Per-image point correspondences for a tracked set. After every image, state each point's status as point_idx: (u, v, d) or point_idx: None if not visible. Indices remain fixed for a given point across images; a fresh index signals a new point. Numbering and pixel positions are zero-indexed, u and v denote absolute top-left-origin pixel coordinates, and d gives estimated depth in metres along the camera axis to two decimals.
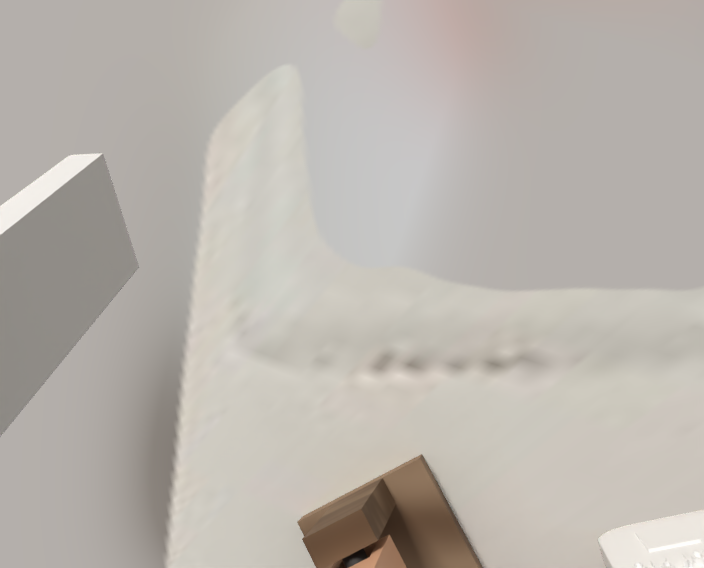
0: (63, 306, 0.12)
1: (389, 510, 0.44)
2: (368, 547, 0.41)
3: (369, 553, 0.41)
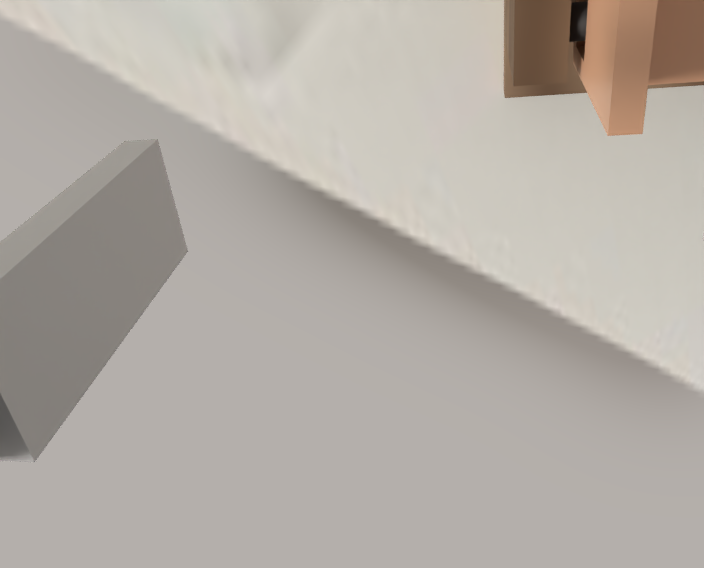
0: (126, 285, 0.13)
1: None
2: None
3: None
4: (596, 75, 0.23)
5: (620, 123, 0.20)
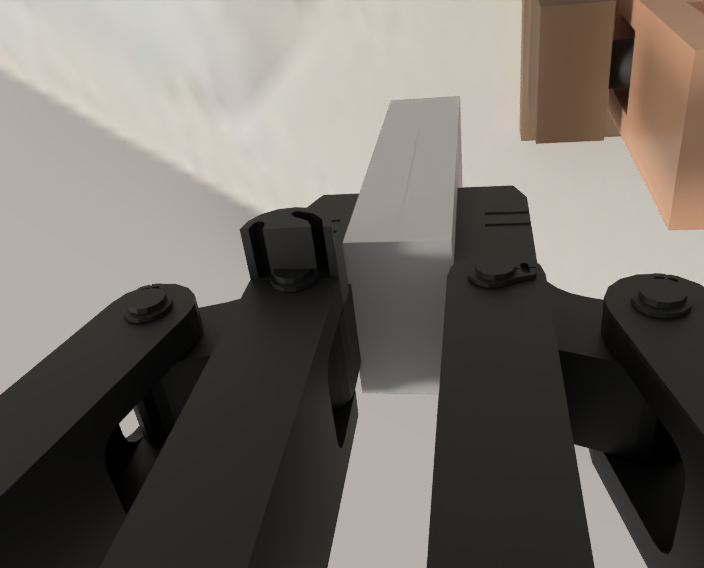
0: None
1: None
2: (618, 32, 0.21)
3: (629, 35, 0.21)
4: (648, 141, 0.17)
5: (686, 215, 0.15)
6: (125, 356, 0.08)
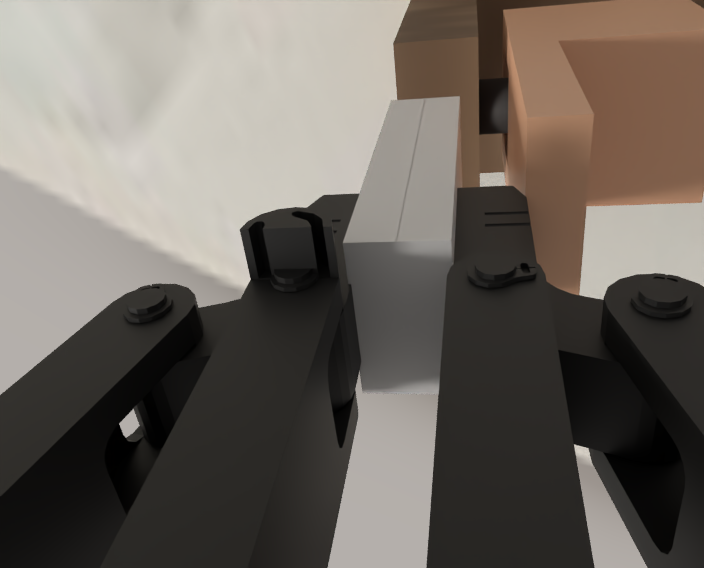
0: None
1: None
2: (504, 67, 0.18)
3: None
4: None
5: None
6: (125, 356, 0.08)
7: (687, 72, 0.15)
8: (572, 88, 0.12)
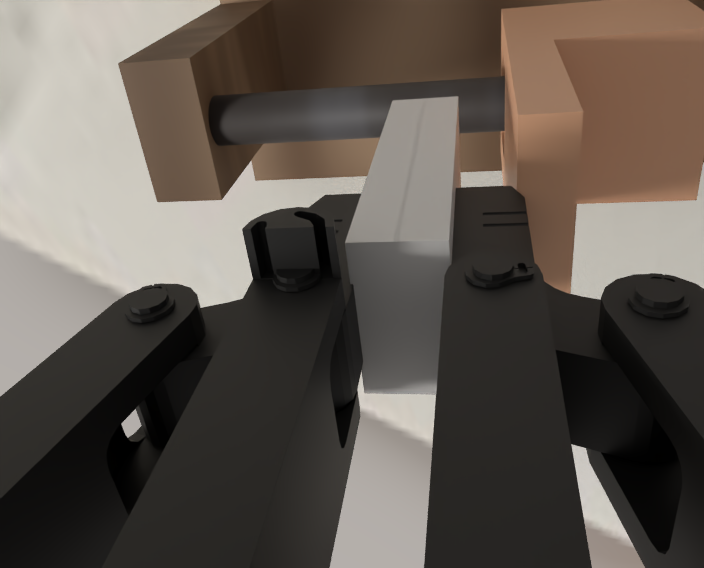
0: None
1: (245, 14, 0.22)
2: (502, 66, 0.19)
3: None
4: None
5: None
6: (127, 356, 0.08)
7: (681, 71, 0.15)
8: (564, 86, 0.12)
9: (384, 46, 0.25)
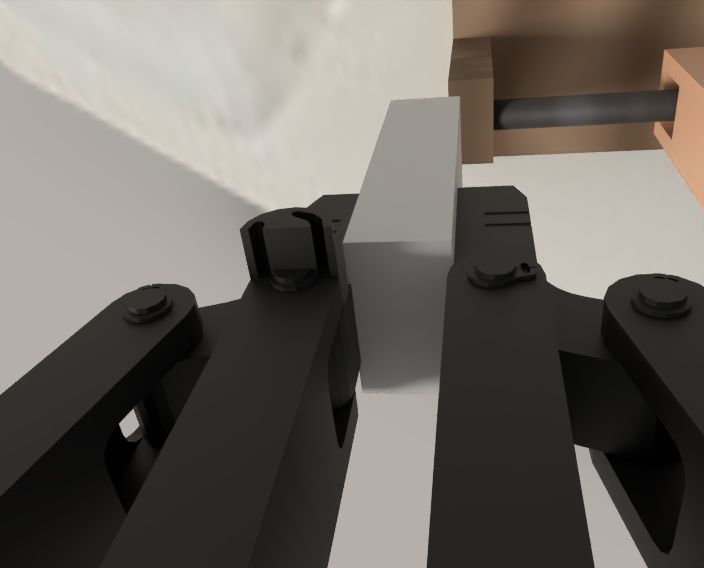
0: None
1: (486, 47, 0.35)
2: (663, 83, 0.31)
3: (671, 85, 0.31)
4: (690, 159, 0.27)
5: None
6: (125, 356, 0.08)
7: None
8: None
9: (562, 67, 0.37)
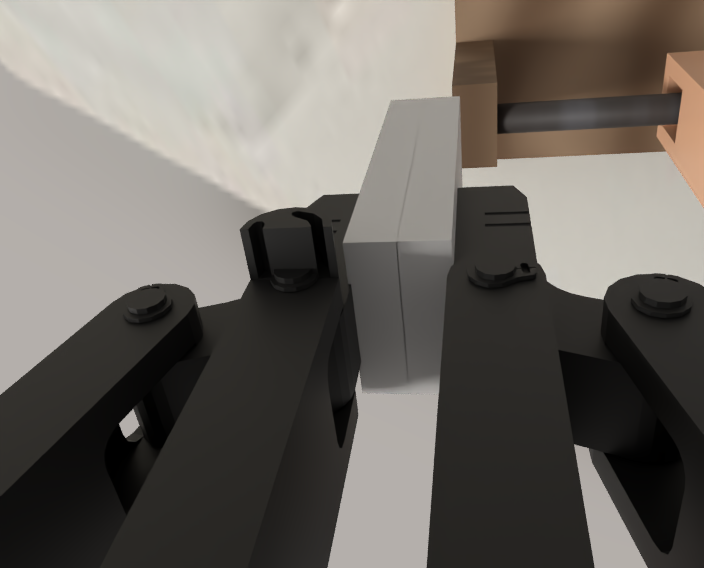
0: None
1: (489, 51, 0.35)
2: (666, 86, 0.31)
3: (674, 88, 0.31)
4: (693, 162, 0.28)
5: None
6: (125, 356, 0.08)
7: None
8: None
9: (564, 70, 0.37)
